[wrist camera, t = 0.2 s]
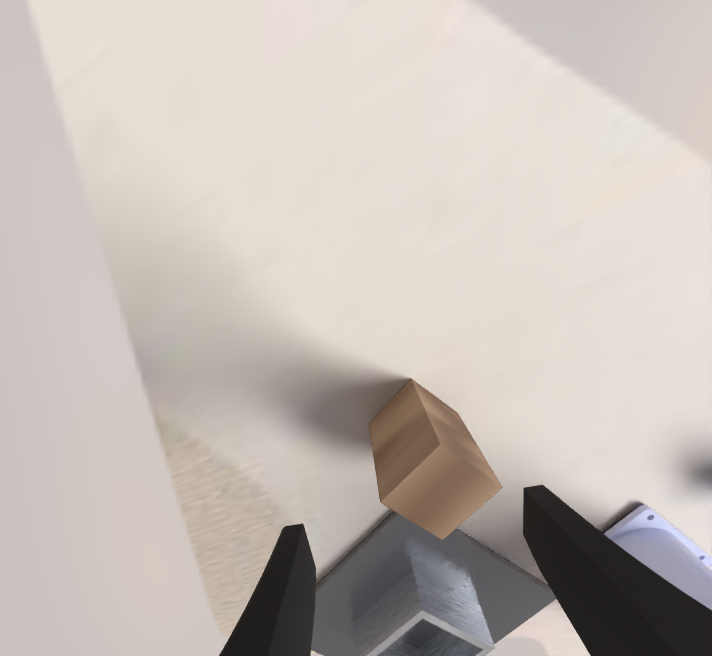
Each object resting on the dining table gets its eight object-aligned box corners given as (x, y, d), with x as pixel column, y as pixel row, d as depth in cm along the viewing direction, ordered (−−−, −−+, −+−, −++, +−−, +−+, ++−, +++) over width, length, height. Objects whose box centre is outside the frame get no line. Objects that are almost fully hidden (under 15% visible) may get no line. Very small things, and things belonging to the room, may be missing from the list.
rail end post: (457, 413, 21) (502, 487, 15) (415, 454, 22) (442, 539, 16) (411, 378, 20) (440, 444, 14) (368, 423, 21) (380, 502, 15)
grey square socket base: (553, 589, 27) (581, 637, 24) (420, 688, 30) (429, 741, 27) (407, 498, 23) (418, 541, 20) (274, 624, 26) (265, 677, 23)
